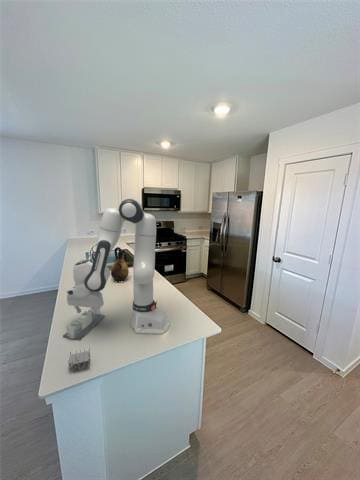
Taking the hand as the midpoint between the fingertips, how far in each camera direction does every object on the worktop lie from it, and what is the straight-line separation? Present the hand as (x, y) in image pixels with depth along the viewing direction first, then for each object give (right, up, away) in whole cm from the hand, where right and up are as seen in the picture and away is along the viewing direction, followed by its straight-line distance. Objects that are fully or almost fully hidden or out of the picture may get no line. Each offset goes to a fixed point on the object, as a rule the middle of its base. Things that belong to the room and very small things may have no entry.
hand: (86, 313), depth 110 cm
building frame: (+9, -13, -26) cm, 30 cm away
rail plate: (-1, -8, +1) cm, 8 cm away
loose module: (-1, -7, +1) cm, 7 cm away
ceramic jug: (-3, +4, +69) cm, 69 cm away
